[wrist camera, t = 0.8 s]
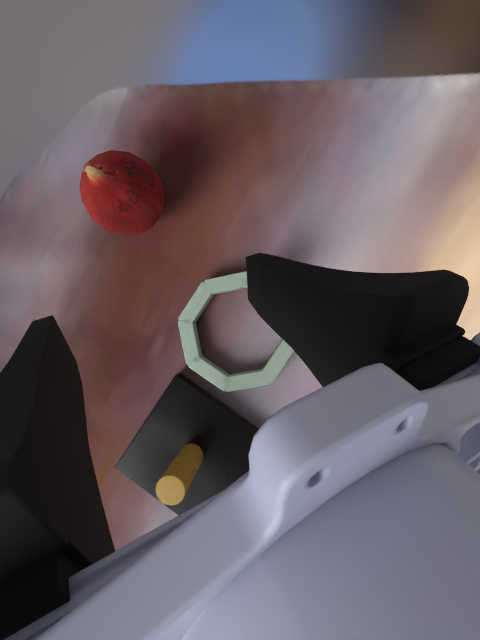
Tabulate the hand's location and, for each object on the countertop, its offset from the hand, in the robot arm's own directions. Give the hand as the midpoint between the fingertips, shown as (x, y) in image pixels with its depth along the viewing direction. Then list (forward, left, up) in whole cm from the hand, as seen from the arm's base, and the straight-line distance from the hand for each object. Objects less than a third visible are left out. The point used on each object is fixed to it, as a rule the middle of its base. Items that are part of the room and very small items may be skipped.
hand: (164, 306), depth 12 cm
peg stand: (-4, +11, -15) cm, 19 cm away
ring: (-2, +1, -15) cm, 15 cm away
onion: (+11, -3, -15) cm, 19 cm away
